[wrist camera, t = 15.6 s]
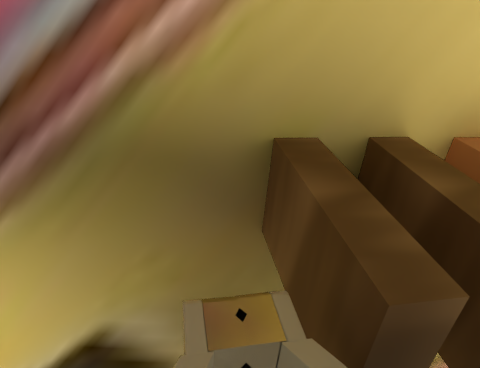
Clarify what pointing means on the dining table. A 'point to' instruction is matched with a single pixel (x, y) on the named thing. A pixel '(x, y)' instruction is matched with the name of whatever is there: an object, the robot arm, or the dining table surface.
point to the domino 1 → (353, 264)
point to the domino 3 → (465, 156)
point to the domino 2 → (434, 224)
